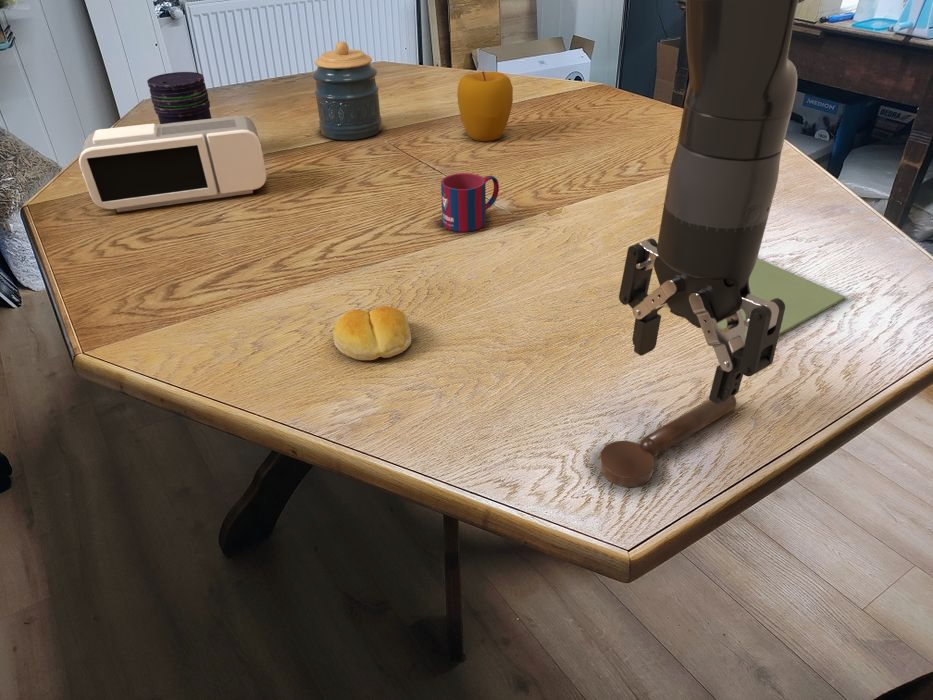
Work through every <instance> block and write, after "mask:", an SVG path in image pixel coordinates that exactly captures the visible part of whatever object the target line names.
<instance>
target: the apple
mask: <svg viewBox="0 0 933 700" xmlns="http://www.w3.org/2000/svg"><path fill="white" fill-rule="evenodd" d="M456 95H457V96H456V97H457V105H458V111H459V115H460V119H461V123H462V124H463V128H464V131H465V132H466V133H467V135H468V137H469V138H471V139H473V140H474V141H477V142H492V141H496V140H498V139H500V138H501V137H502V136H503V134H504V132H505V129H506V127H507V126H508V125H507V124H508V122H509V119H510V115H511V112H512V107H513V99H514V87H513V83H512V81H511V79H510V77H509V76H507V75H505V74H504V73H503V72H501V71H484V70H483V71H479V72H473V73H467V74H464V75H463V76H461V78H460V79H459V82H458V85H457V94H456Z"/></svg>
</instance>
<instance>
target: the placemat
mask: <svg viewBox="0 0 933 700" xmlns="http://www.w3.org/2000/svg"><path fill="white" fill-rule="evenodd" d="M749 288H750V292H751V295H753V296H756V297H758V298H761V299H763V300H765V301H768V302H769V301H771V300H773V299H775V298H779V299H781V300H782V301H783V302H784V304H785V311H784V316H783V320H782V324H781V329H780V333H779V336H781V335H782V334H784V333H786V332H788V331H789V330H791V329H792V330H793V328H795V327H797V326H799V325H801V324H803V323H804V322H806V321H808V320H810V319H812V318H813V317H815V316H817V315H818V314H820V313H822V312H824V311H826V310H828V309H829V308H831V307H833V306H835V305H836V304H838V303H840V302H842V301H843V300H844V301H845V299H846V296H845V295H843V294H840V293H838V292H836V291H834V290H831V289H828V288H826V287H824V286H821V285H820V284H818V283H815V282H813V281H810V280H808V279H806V278H803V277H801V276H799V275H796V274H794V273H792V272H789V271H788V270H785V269H783V268H781V267H778V266H776V265H773V264H771V263H769V262H766V261H764V260H762V259H760V258H758V257H757V261H756V264H755V266H754V269H753V271H752V273H751V275H750V277H749ZM740 311H741V314H742V317H743V320H744V321H745V320H746V315H745V312H744V311H743V310H742V309H740ZM717 324H718V327H719V330H720V331H721V330H723V329H725V328H726V327H727V321H726V319H724V320H723V321H721V322H719V323H717ZM747 330H748V326H746V331H745V334H744V335H745V338H746V335H747Z"/></svg>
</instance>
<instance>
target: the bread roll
mask: <svg viewBox="0 0 933 700" xmlns="http://www.w3.org/2000/svg"><path fill="white" fill-rule="evenodd" d="M332 337H333V341H334V342H333V343H334V345H335V347H336V348H337V349H338V350H339V352H341V353H342V354H343V355H345V356H347V357H349V358H352V359H354V360H358V361H373V360H376V359H379V358H380V357H381V358H384V359H385V358H387V359H388V358H392V357H394V356H397V355H399V354H401V353H403V352H404V351H406V350H407V349H408V348H409V347H410V345H411V344H412V334H411V329H410V325H409V317H408V315H407V314H406V313H404V312H403V311H402V310H401V309H398V308H396V307H393V306H389V305H380V306H377V307H376V308H374V309H372V310H370V311H368V310H363V309H352V310H350V311H348V312H346V313H344V314H343V315H341V317H340V318H339V319H338V320H337V322H336V323H335V325H334V328H333V332H332Z"/></svg>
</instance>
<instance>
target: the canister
mask: <svg viewBox="0 0 933 700" xmlns="http://www.w3.org/2000/svg"><path fill="white" fill-rule="evenodd" d="M372 61H373V59H372V57H371V56H370V55H368V54H366V53H365V52H364V51H363V50H360V49H351V48H349V44H348V43H347V42H345V41H343V40H341V41H337V42H336V43H335V47H334V50H329V51H326V52H323V53H321V55H320V56H319V57H318V58H316V59H315V61H314V64H315V66H316V69H315V70H314V71H313V72H312V75H311V76H312V78H313V79H314V80H315V86H316V87H315V90H314V95H315V97H316V105H317V112H318V118H319V119H318V124H319V129H320V132H321V134H322V135H323V136H324V137H326V138H328V139H332V140H338V141H339V140H340V141H353V140H355V141H356V140H361V139H367V138H370V137H373V136H376V135H377V134H379V133H380V132H381V130H382V124H383V121H382V116H381V110H380V109H381V107H380V99H379V96H380V95H379V86H378V85H377V82H376V76H377V73H378V70H377V68H375V67H374V66H373V65H371V62H372Z"/></svg>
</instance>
